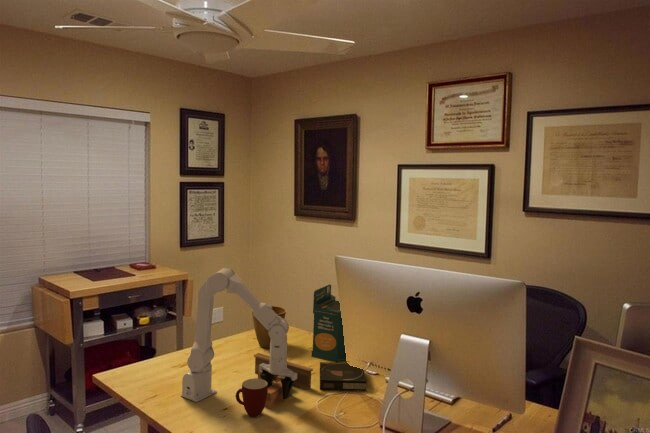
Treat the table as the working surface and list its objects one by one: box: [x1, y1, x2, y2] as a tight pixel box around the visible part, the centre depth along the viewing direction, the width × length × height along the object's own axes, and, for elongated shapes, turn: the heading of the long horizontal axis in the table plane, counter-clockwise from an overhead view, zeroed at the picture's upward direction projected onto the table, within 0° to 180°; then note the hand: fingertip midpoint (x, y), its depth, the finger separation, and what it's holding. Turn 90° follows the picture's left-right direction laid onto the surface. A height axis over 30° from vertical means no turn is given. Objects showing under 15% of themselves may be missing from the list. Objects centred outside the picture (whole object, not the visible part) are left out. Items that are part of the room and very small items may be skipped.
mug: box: [235, 378, 268, 418], centre depth 154 cm, size 10×8×10 cm
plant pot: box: [251, 305, 287, 349], centre depth 216 cm, size 15×15×16 cm
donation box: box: [310, 284, 347, 363], centre depth 207 cm, size 16×16×28 cm
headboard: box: [253, 352, 314, 391], centre depth 178 cm, size 8×25×7 cm, turn 58°
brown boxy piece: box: [264, 377, 293, 409], centre depth 164 cm, size 12×4×6 cm, turn 148°
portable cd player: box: [319, 361, 367, 392], centre depth 182 cm, size 16×17×4 cm
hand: (277, 395), depth 164 cm, fingers open, 6 cm apart
